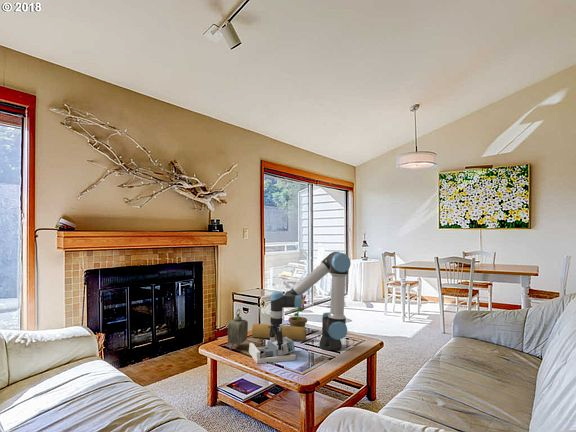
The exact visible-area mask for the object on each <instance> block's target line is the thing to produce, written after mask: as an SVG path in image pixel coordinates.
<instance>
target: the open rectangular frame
mask: <svg viewBox="0 0 576 432" xmlns="http://www.w3.org/2000/svg"><path fill="white" fill-rule="evenodd" d="M248 344H249V347H248V353H249V354H250V356H251V357H252V359H253V360H254V361H255V362H256V364H257V363H259V364H267V362H268V363H274V362H276V363H277V362H284V361H285V362H286V361H292V360H293V361H294V360H296V357H297V356H296V354H294V353H292V352H290V353H288V354H286V355H283V356H279V355H278V356H277V357H273V356H267V357H261V352H264V349H267V347H268V345H267V346H257V347H256V345H255V344H254V342H250V343H248Z"/></svg>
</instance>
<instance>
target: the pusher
mask: <svg viewBox="0 0 576 432" xmlns="http://www.w3.org/2000/svg"><path fill="white" fill-rule="evenodd" d="M267 346H268V347H267V349H264V351H263V355H264V358H268V357H277V356H279V355H278V349H277V348H276V347H275V346H274V345H273V344H272V343H271V342H270V340H267Z"/></svg>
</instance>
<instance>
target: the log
mask: <svg viewBox="0 0 576 432" xmlns="http://www.w3.org/2000/svg"><path fill="white" fill-rule="evenodd" d="M280 327H281V328H282V338H284V337H287V338H289V339H291V340H293V342H294V341H295V342H296V341H297V342H298V341H299V342H305V341H306V340H307V328H306V326H305V327H295V326H290V325H282V324H280ZM270 328H271V324H268V323H267V324H266V323H265V324H264V323H253V324H252V328H251V338H256V339H257V338H258V339H259V338H260V339H269V340H270V338H271V337H270V335H269V333H270ZM275 340H277V337H276V334H275Z"/></svg>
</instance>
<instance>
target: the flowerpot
mask: <svg viewBox="0 0 576 432" xmlns="http://www.w3.org/2000/svg"><path fill="white" fill-rule="evenodd" d="M301 297H302V306H301V307H299V308H297V312H296V313H294V316H292V317H289V318H288V323H289V326H295V327H305V328H306V324H307V322H308V319H307V317H303V316H299V313H301V312H303V311H305V305H306V304H307V301H306V299H307V298H306V297H307V295H306V294H302V295H301Z"/></svg>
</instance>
